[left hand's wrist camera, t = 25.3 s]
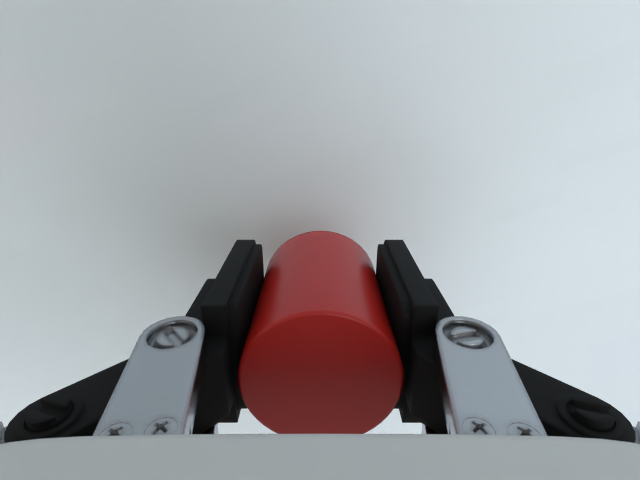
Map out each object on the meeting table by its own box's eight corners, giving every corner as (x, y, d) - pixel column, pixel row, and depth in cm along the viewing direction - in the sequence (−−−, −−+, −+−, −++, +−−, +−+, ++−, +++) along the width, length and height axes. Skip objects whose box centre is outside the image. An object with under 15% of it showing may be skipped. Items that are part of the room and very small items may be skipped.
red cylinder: (252, 243, 12) (214, 330, 8) (364, 219, 12) (390, 296, 7) (282, 335, 13) (263, 456, 9) (383, 316, 13) (415, 431, 8)
